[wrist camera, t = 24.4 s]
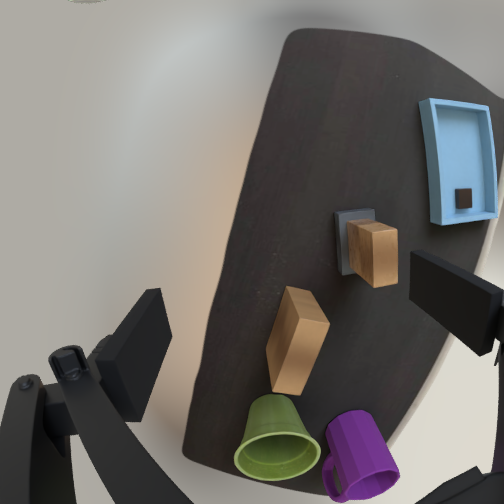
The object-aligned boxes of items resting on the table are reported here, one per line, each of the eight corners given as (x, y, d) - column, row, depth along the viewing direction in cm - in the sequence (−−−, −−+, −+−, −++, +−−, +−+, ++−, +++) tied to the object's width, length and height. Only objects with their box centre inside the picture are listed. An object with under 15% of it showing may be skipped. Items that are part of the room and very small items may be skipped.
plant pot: (256, 371, 44) (261, 422, 33) (320, 394, 46) (337, 443, 35) (222, 419, 47) (219, 470, 36) (282, 438, 48) (290, 486, 37)
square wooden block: (286, 285, 41) (299, 317, 32) (310, 291, 42) (330, 324, 32) (265, 348, 43) (272, 391, 34) (288, 353, 44) (300, 395, 34)
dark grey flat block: (454, 188, 38) (458, 189, 37) (468, 187, 38) (472, 188, 37) (455, 208, 39) (459, 209, 38) (468, 207, 39) (472, 207, 38)
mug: (380, 410, 48) (412, 467, 33) (339, 462, 51) (357, 517, 37) (340, 404, 47) (366, 468, 32) (300, 458, 50) (312, 519, 36)
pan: (418, 102, 36) (429, 98, 33) (476, 108, 36) (488, 106, 33) (430, 222, 40) (441, 225, 37) (485, 214, 40) (497, 217, 37)
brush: (333, 212, 39) (362, 223, 30) (368, 207, 39) (405, 218, 30) (337, 271, 41) (365, 298, 31) (371, 265, 41) (405, 290, 31)
